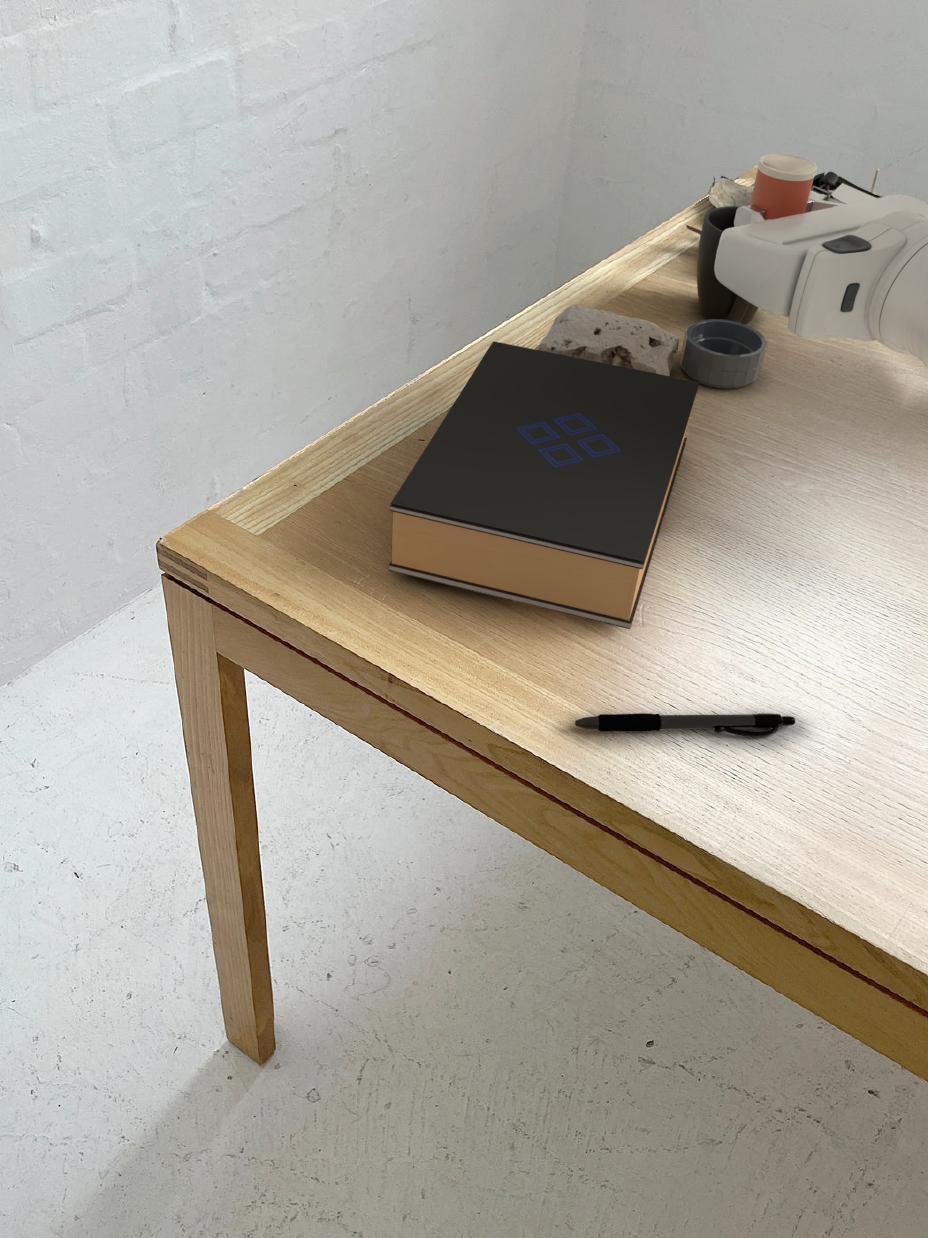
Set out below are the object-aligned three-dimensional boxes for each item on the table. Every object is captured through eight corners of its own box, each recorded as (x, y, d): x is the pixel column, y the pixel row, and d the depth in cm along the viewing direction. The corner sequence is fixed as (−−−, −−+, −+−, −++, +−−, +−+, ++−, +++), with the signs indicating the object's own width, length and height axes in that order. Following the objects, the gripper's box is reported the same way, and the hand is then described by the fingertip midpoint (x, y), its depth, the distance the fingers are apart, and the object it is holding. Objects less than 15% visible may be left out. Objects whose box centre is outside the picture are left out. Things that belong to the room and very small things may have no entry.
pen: (801, 731, 70) (795, 740, 71) (795, 708, 71) (789, 718, 72) (579, 733, 68) (576, 743, 69) (575, 710, 69) (572, 720, 70)
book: (387, 579, 80) (389, 502, 76) (486, 410, 98) (492, 340, 94) (628, 638, 77) (644, 561, 72) (684, 451, 95) (699, 381, 91)
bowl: (750, 354, 109) (758, 321, 107) (765, 393, 103) (774, 359, 101) (674, 350, 109) (681, 316, 106) (684, 389, 103) (692, 354, 101)
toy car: (922, 210, 125) (921, 239, 129) (815, 163, 134) (817, 192, 137) (876, 252, 124) (876, 281, 128) (772, 203, 133) (775, 231, 136)
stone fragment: (690, 240, 130) (705, 277, 132) (760, 216, 125) (775, 255, 128) (717, 163, 142) (731, 199, 144) (782, 139, 137) (795, 176, 140)
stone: (682, 406, 100) (674, 357, 108) (688, 345, 96) (679, 299, 104) (533, 406, 101) (535, 358, 109) (533, 346, 97) (535, 300, 105)
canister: (779, 273, 97) (810, 155, 91) (790, 297, 94) (823, 175, 87) (727, 270, 97) (754, 151, 90) (737, 293, 94) (765, 171, 87)
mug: (689, 345, 110) (709, 250, 103) (683, 291, 119) (701, 201, 112) (774, 353, 109) (799, 259, 103) (762, 299, 118) (784, 209, 112)
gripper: (1004, 213, 85) (870, 153, 94) (806, 258, 77) (678, 187, 86) (974, 292, 90) (848, 227, 98) (783, 343, 81) (664, 267, 90)
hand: (768, 209), depth 92 cm, fingers closed on canister, 4 cm apart
